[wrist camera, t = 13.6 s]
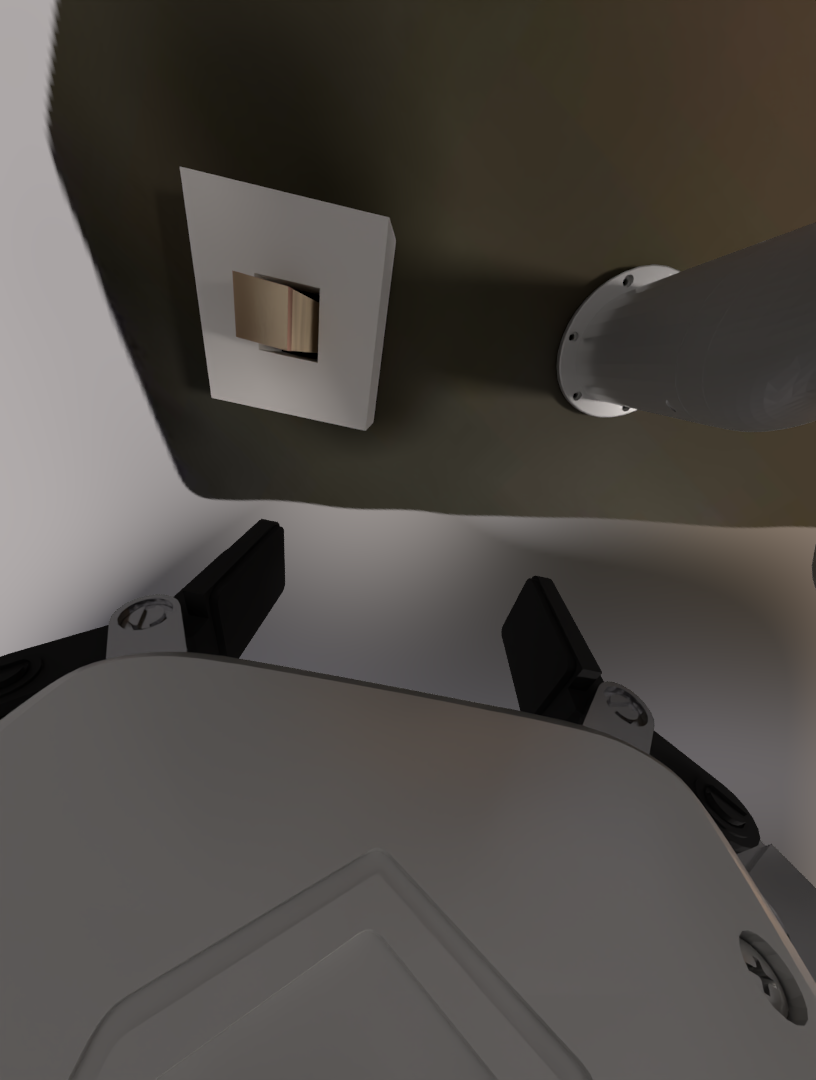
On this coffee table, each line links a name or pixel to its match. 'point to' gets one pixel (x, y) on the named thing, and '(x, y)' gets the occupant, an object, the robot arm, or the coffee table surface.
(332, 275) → the socket block
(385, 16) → the coffee table surface
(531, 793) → the robot arm
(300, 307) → the maple peg
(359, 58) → the coffee table surface
